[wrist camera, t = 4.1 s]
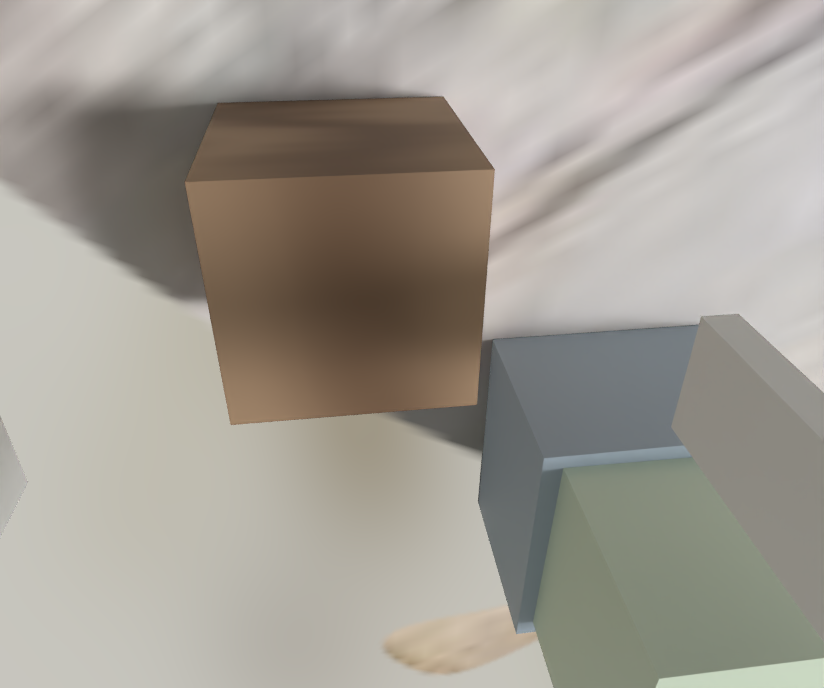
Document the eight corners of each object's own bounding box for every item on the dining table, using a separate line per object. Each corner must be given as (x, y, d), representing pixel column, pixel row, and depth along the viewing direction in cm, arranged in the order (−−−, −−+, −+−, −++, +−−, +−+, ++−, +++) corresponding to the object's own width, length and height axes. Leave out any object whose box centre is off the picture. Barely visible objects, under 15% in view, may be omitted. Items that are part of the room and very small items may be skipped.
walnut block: (247, 300, 21) (230, 424, 16) (218, 102, 18) (184, 182, 13) (437, 288, 22) (477, 404, 17) (442, 95, 18) (494, 169, 13)
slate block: (477, 501, 27) (516, 633, 22) (492, 337, 23) (543, 458, 18) (662, 482, 28) (738, 606, 23) (710, 322, 24) (817, 433, 19)
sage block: (532, 621, 22) (598, 829, 17) (563, 467, 18) (659, 679, 13) (729, 599, 23) (845, 791, 18) (797, 448, 19) (969, 639, 14)
